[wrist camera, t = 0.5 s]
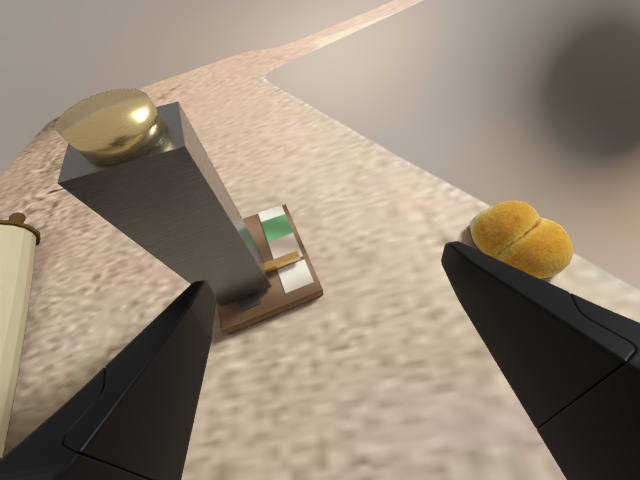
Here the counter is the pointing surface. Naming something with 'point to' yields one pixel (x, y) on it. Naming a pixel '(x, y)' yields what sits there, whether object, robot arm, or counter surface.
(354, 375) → the counter surface
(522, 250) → the bread roll
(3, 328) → the rolling pin
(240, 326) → the board
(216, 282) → the grey square pillar
